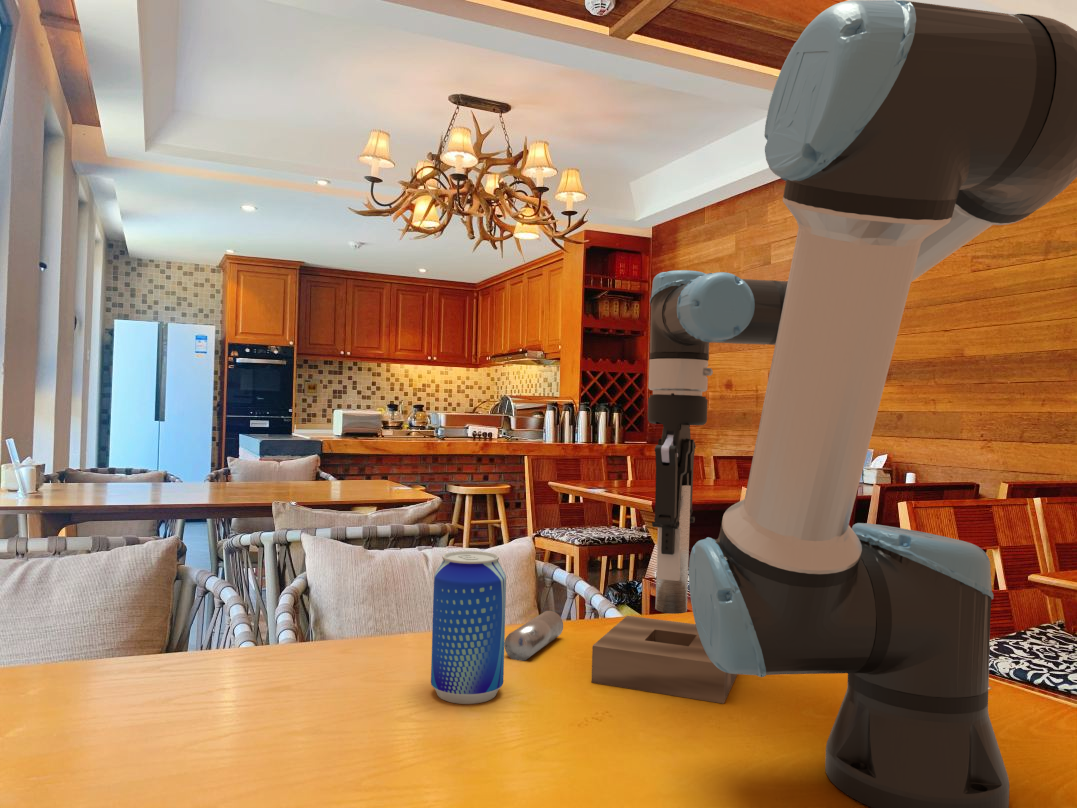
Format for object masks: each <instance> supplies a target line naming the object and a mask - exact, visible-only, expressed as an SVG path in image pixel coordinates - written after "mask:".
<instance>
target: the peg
mask: <svg viewBox="0 0 1077 808" xmlns="http://www.w3.org/2000/svg"><path fill="white" fill-rule="evenodd" d="M690 493H691V486H690V485H685V484H682V490H681V504H680V518H679V522H680V526H679V528H681V553H680V580H679V581H674V580H665V579H657V572H656V576H655V578H656V579H655V607H654V609H655V610H656V611H658V612H661V613H664V614H670V615H671V614H672V615H674V614H678V615H680V614H684V613H686V612H687V611H688V592H689V591H688V586H689V560H690V555H689V553H690V551H689V549H690V526H691V525H690V524H691V522H690V516H691V515H690ZM658 535H659V527H657V536H658ZM656 542H657V544H656V547H657V548H656V569H657V568H658V539H657V540H656Z"/></svg>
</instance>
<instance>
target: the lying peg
mask: <svg viewBox="0 0 1077 808" xmlns="http://www.w3.org/2000/svg"><path fill="white" fill-rule="evenodd" d="M563 630H564V622H563V619H562V616H561V615H560V614H558V613H557V612H555V611H552V610H545V611H544V612H541V613H540V614H539V615H537V616H535V617H534V618H532V619H531V620H529V621H527V622H525V623H524V624H523V625H521V626H519V627H517V629H515V630H513V631H511V632H510V633H509V634H508V635H507V636H506V637H505V640H504V652H505V653H506V655H507V656H508V657H509V658H510V659H511V660H515V661H520V662H525V661H527V660H528V659H530V658H531V657H532V656H534V655H535V654H536V653H537V652H539V651H540V650H542V649H543V648H545V646H547V645H549V644H550V643H551V642H553V641H554V640H555V639H557V638H558V637H559V636H560V635H561V634H562V633H563Z"/></svg>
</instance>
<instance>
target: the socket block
mask: <svg viewBox="0 0 1077 808" xmlns="http://www.w3.org/2000/svg"><path fill="white" fill-rule="evenodd" d="M591 649H592V651H591V653H592V655H591V683H592V684H593V683H594V684H598V685H599V684H600V685H605V686H611V687H618V688H625V689H631V690H636V691H643V692H648V693H649V692H650V693H653V694H656V693H657V694H662V695H667V696H673V697H679V698H680V697H681V698H686V699H693V700H700V701H705V702H711V703H717V704H718V703H719V704H722V705H723V704H725V702H726V700H727V698H728V695H729V693H730V691H731V689H732V687H733V684H734V683H735V681H736V678H737V676H738V674H730V673H726V672H724V671H721V670H720V669H718V668H717V667H716V666H715V665H714V664H713V663H712V662H711V660H710V659H709V657H708V656H707V654H706V652H705V650H704V648H703V646H702V643H701V640H700V637H699V634H698V631H697V628H696V624H695V623H688V622H682V621H674V620H673V621H672V620H667V619H666V620H664V619H656V618H649V617H641V616H633V615H626V616H625V617H624V618H622V620H620V621H619V622H618V623H617V624H616V625H615V626H613V628H611V629H609V631H608V632H607V633H605V634H603V636H602V637H600V639H598V640H597V641H596V642H595V643H593V645H592V648H591Z"/></svg>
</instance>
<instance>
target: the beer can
mask: <svg viewBox="0 0 1077 808" xmlns="http://www.w3.org/2000/svg"><path fill="white" fill-rule="evenodd" d="M499 559H500V556H499V555H498V554H497V553H493V552H489V551H482V550H478V551H477V550H459V551H450V552H447V553H444V554H443V555H442V561H441V563H440V564H439V566H438V567H437V570H436V571H435V573H434V575H433V594H432V595H433V599H432V602H433V603H432V628H431V629H432V630H431V631H432V632H431V633H432V635H431V660H430V661H431V664H430V665H431V667H430V670H431V672H430V685H431V687H432V688H433V689H434V690H435V692H436V694H437V697H438V698H439V699H441V700H442V701H445V702H448V703H452V704H458V705H459V704H460V705H461V704H462V705H473V704H479V703H485V702H488V701H490V700H492V699H494V698H495V697H496V696H497V694H498V691H499V690H500V689H501V688H502V686H503V685H504V672H505V671H504V670H505V669H504V668H505V666H504V665H505V639H506V637H505V636H506V633H505V632H506V606H507V605H506V604H507V603H506V600H507V598H506V597H507V574H506V572H505V570H504V568H503V567H502V565H501V563H500V561H499Z"/></svg>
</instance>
